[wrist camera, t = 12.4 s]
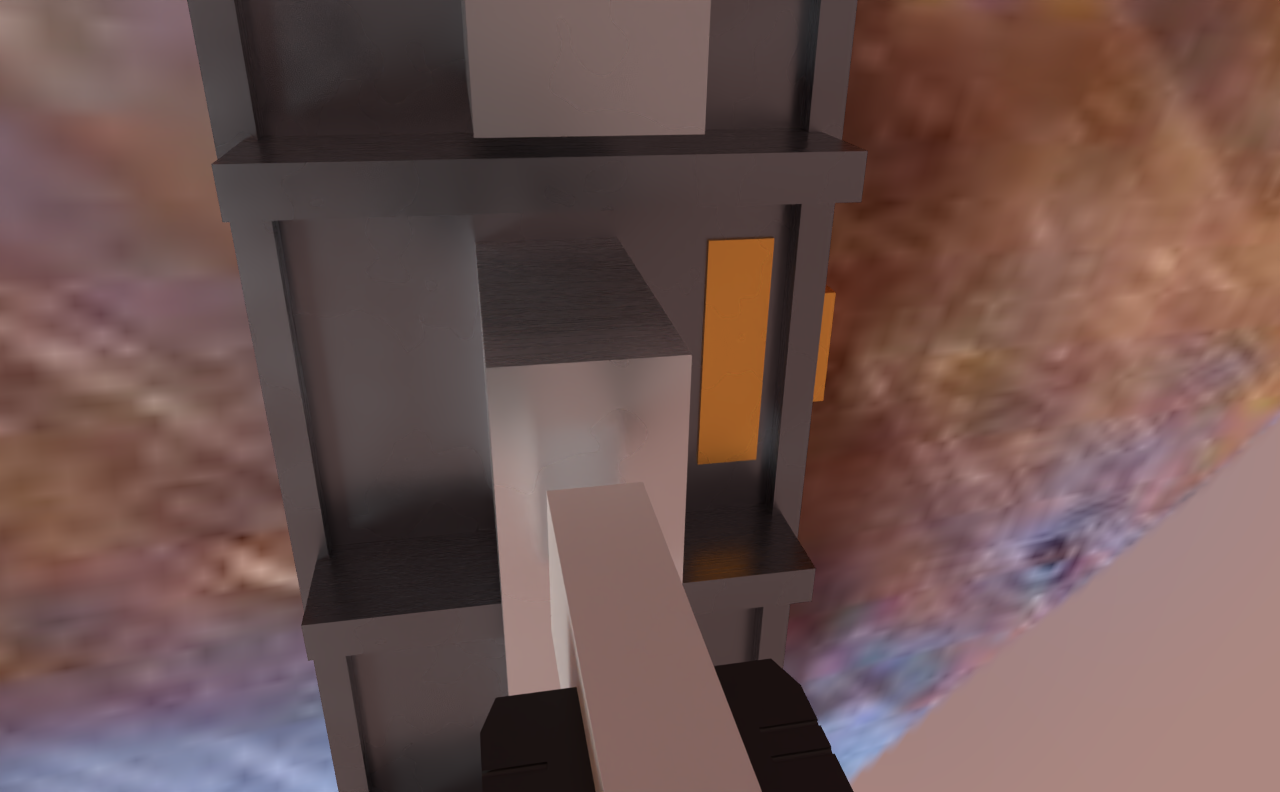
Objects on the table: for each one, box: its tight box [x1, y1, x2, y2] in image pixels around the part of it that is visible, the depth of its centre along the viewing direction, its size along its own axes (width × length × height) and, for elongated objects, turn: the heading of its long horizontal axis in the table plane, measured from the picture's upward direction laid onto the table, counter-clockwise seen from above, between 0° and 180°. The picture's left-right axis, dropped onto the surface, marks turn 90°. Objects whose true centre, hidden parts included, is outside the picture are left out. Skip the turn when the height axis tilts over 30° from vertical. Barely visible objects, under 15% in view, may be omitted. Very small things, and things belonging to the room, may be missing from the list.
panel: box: [475, 237, 692, 696], centre depth 18 cm, size 7×3×7 cm, turn 179°
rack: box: [187, 0, 868, 792], centre depth 18 cm, size 31×14×8 cm, turn 179°
